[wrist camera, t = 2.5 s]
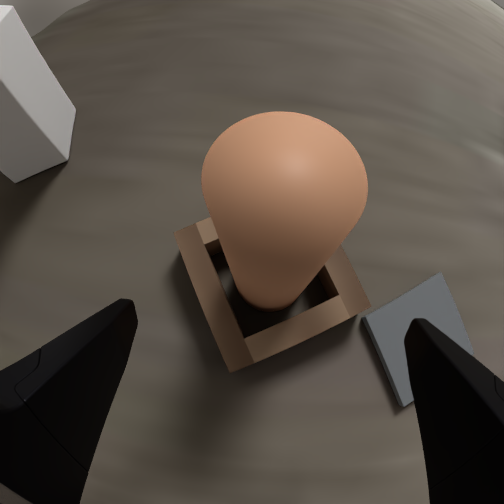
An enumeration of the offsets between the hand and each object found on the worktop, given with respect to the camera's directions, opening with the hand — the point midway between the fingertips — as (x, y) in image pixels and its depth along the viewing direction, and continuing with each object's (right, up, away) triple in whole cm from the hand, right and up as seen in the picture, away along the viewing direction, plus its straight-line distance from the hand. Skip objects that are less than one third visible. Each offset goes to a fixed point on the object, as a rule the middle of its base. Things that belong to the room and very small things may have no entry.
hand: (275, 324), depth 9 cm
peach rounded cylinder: (0, 0, +11) cm, 11 cm away
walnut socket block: (0, 0, +11) cm, 11 cm away
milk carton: (-22, +13, +16) cm, 30 cm away
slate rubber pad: (+11, -4, +10) cm, 15 cm away
